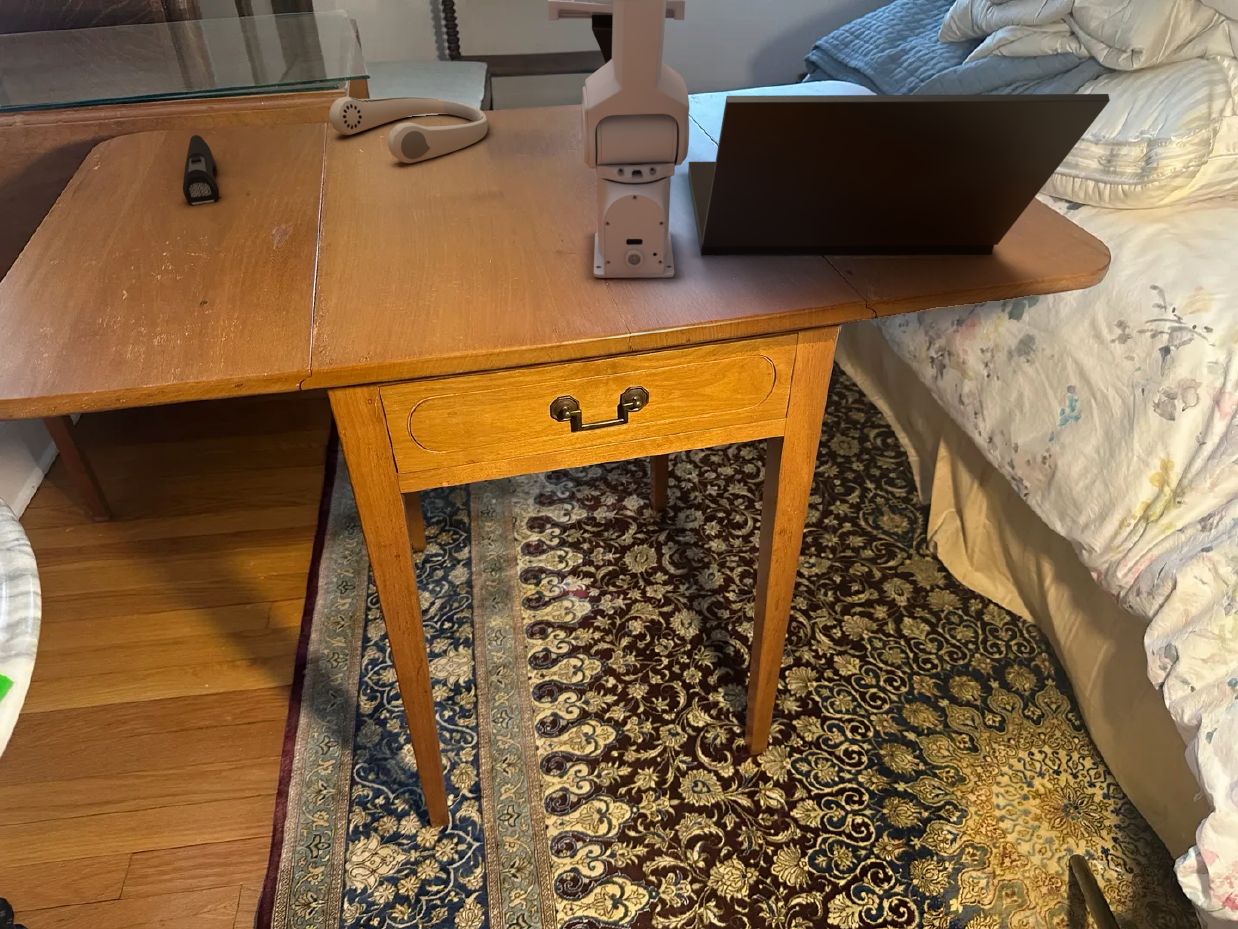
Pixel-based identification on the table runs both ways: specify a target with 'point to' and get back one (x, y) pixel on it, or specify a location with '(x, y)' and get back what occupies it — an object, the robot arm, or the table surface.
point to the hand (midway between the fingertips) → (616, 88)
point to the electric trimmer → (199, 173)
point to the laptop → (700, 193)
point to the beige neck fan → (410, 124)
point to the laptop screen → (886, 166)
